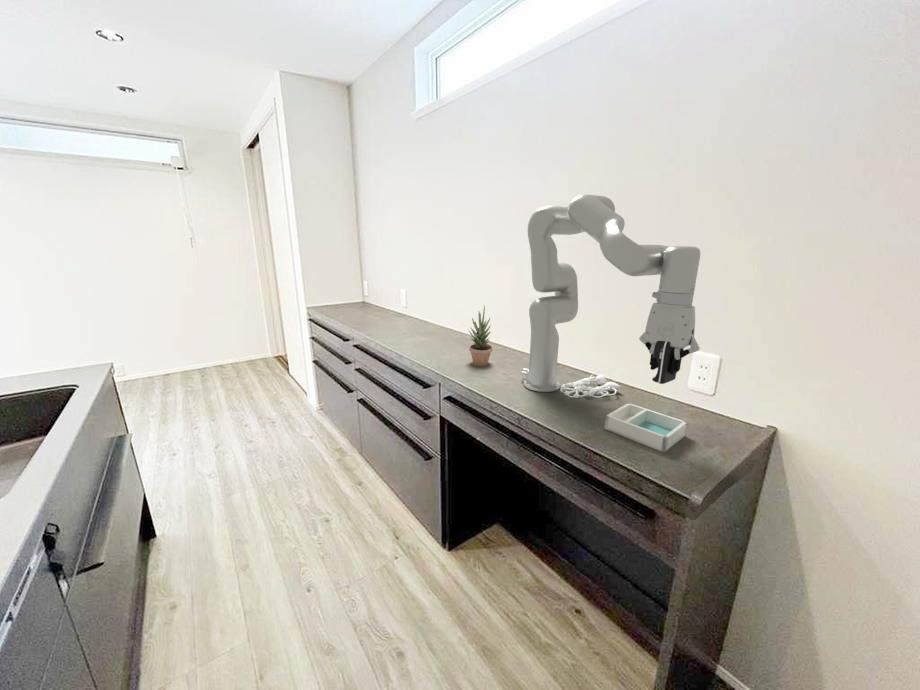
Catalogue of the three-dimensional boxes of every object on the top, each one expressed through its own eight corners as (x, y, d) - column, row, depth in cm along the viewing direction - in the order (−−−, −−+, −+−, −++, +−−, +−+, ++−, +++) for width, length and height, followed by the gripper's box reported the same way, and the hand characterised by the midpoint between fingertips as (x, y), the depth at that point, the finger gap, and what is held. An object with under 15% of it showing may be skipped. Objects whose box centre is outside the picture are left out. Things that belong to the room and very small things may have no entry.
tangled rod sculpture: (573, 407, 123) (575, 395, 122) (552, 387, 136) (553, 376, 135) (625, 399, 128) (627, 388, 126) (600, 380, 141) (601, 370, 140)
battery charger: (661, 375, 102) (668, 333, 99) (676, 379, 99) (683, 336, 96) (647, 380, 98) (653, 337, 95) (661, 385, 95) (669, 340, 92)
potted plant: (480, 368, 154) (482, 307, 147) (464, 363, 161) (465, 304, 154) (497, 363, 161) (499, 304, 154) (481, 358, 167) (482, 301, 161)
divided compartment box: (604, 428, 106) (605, 415, 105) (626, 415, 115) (628, 402, 114) (664, 452, 95) (666, 438, 94) (684, 435, 103) (687, 422, 102)
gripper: (633, 296, 97) (624, 365, 102) (708, 305, 84) (694, 383, 89) (646, 293, 101) (637, 360, 106) (719, 301, 89) (705, 376, 94)
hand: (663, 370), depth 98 cm, fingers closed on battery charger, 4 cm apart
